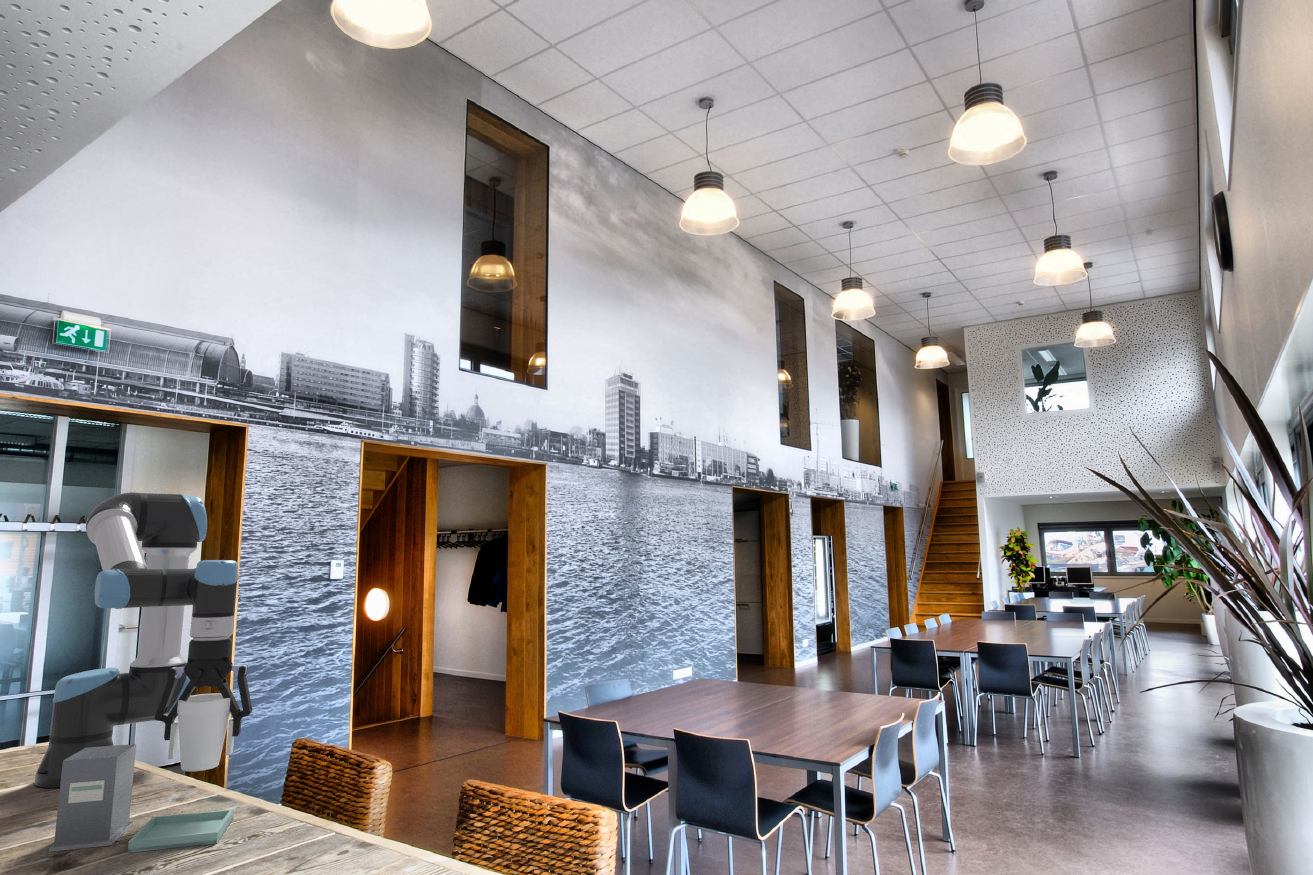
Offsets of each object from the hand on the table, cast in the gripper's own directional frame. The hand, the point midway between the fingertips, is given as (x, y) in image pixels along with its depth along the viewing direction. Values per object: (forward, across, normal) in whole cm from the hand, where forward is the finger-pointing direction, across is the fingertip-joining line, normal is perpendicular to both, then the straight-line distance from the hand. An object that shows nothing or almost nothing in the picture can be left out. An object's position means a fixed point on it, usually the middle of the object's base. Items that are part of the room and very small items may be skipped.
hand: (201, 755), depth 151 cm
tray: (+10, +1, -15) cm, 18 cm away
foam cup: (+2, 0, 0) cm, 2 cm away
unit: (+10, -14, -11) cm, 20 cm away
